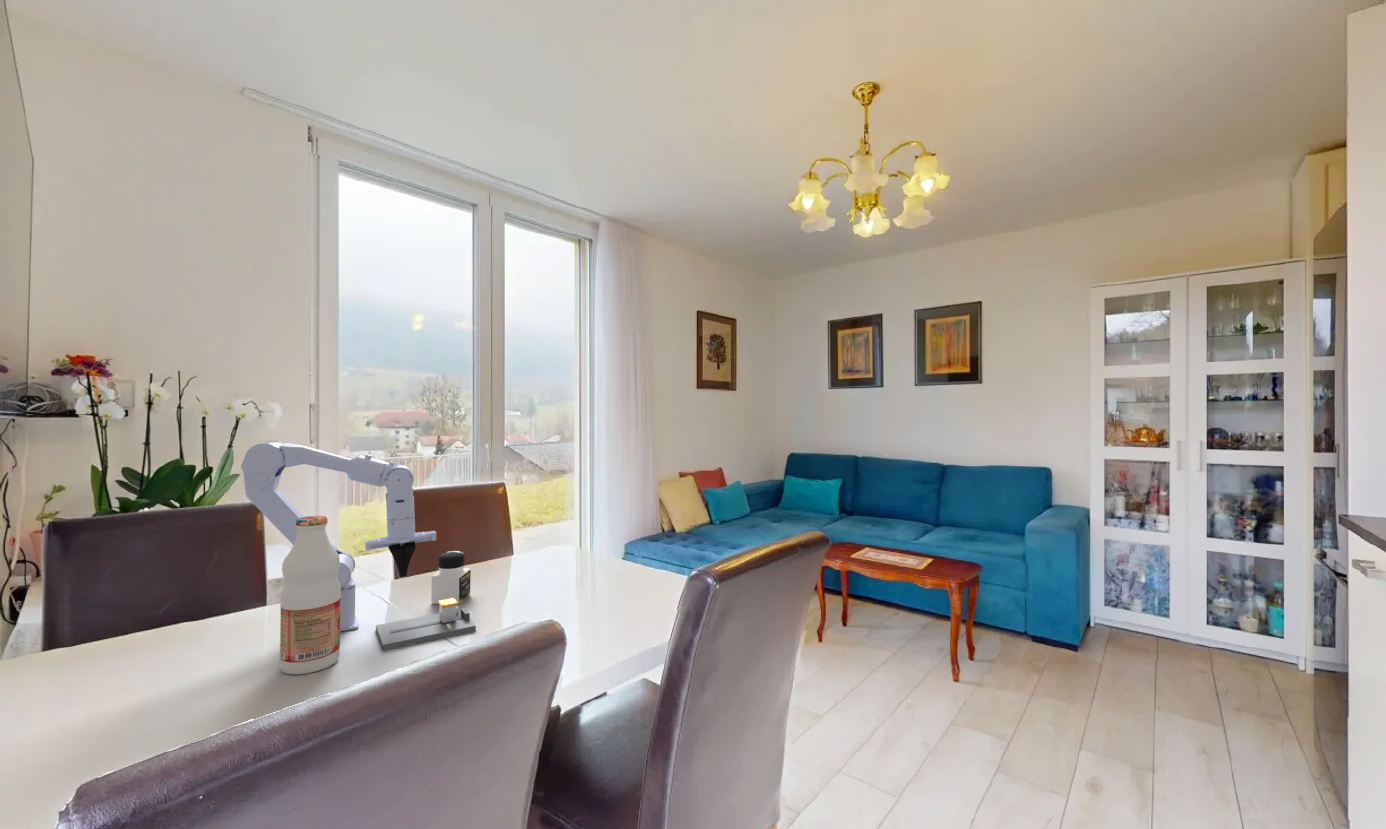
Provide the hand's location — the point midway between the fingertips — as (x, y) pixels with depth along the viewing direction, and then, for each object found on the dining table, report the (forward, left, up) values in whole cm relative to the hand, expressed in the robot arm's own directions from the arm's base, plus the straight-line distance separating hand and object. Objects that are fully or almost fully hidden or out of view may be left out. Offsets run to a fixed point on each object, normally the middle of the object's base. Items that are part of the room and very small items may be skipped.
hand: (402, 575), depth 129 cm
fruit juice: (-18, -16, -10) cm, 26 cm away
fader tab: (+8, -11, -8) cm, 16 cm away
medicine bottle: (+12, +7, -10) cm, 17 cm away
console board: (+3, -11, -10) cm, 15 cm away
